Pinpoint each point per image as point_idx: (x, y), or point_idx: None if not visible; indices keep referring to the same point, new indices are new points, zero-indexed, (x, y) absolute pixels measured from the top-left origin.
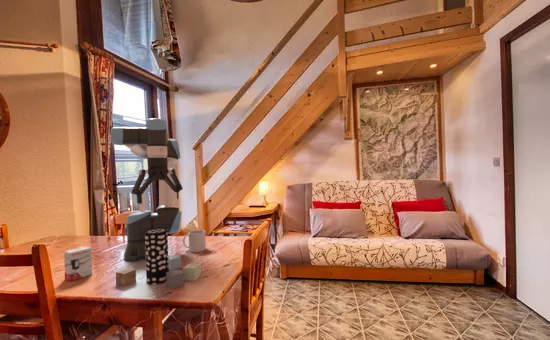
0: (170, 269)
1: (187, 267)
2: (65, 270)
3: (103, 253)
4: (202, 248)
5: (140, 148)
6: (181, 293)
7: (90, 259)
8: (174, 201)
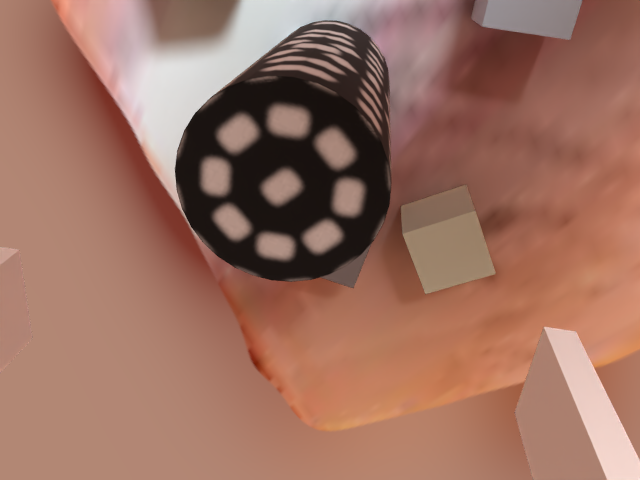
0: (473, 13)
1: (417, 251)
2: None
3: None
4: None
5: None
6: (295, 304)
7: None
8: (546, 472)
